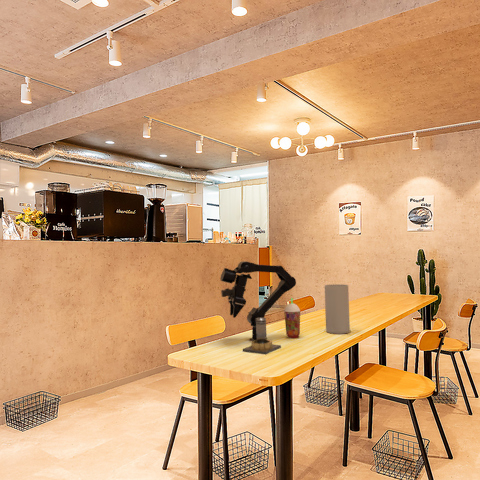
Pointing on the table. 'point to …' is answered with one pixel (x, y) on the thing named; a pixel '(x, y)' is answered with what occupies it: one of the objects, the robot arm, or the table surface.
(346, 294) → the cylinder vase
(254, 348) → the ring collar
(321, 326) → the table surface
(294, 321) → the smoothie
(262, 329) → the piston
